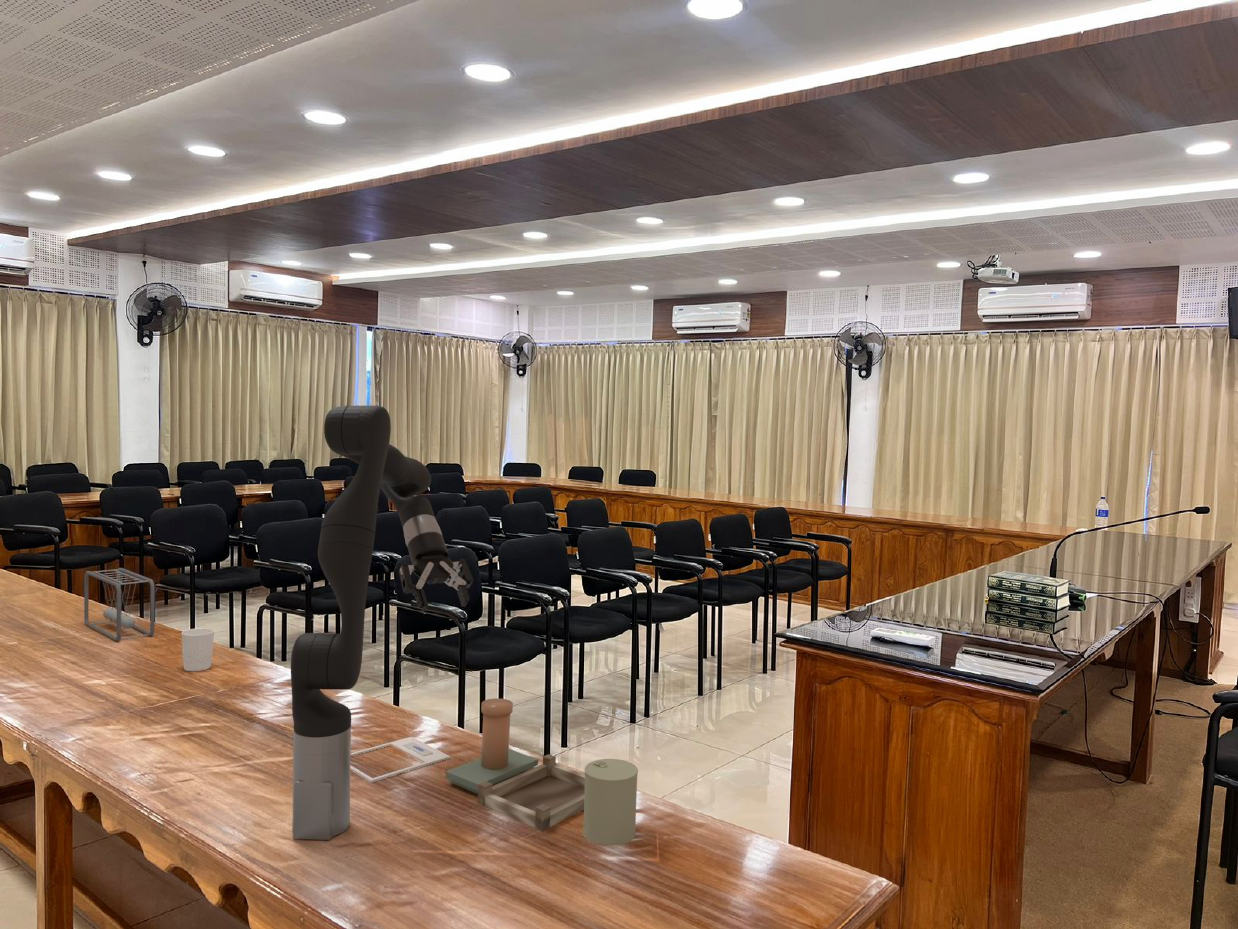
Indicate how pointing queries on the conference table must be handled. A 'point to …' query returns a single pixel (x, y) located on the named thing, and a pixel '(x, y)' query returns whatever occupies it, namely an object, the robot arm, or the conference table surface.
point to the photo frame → (407, 746)
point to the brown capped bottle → (496, 733)
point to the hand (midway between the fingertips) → (445, 606)
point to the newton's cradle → (119, 603)
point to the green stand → (489, 771)
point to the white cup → (197, 649)
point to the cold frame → (537, 794)
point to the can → (610, 801)
